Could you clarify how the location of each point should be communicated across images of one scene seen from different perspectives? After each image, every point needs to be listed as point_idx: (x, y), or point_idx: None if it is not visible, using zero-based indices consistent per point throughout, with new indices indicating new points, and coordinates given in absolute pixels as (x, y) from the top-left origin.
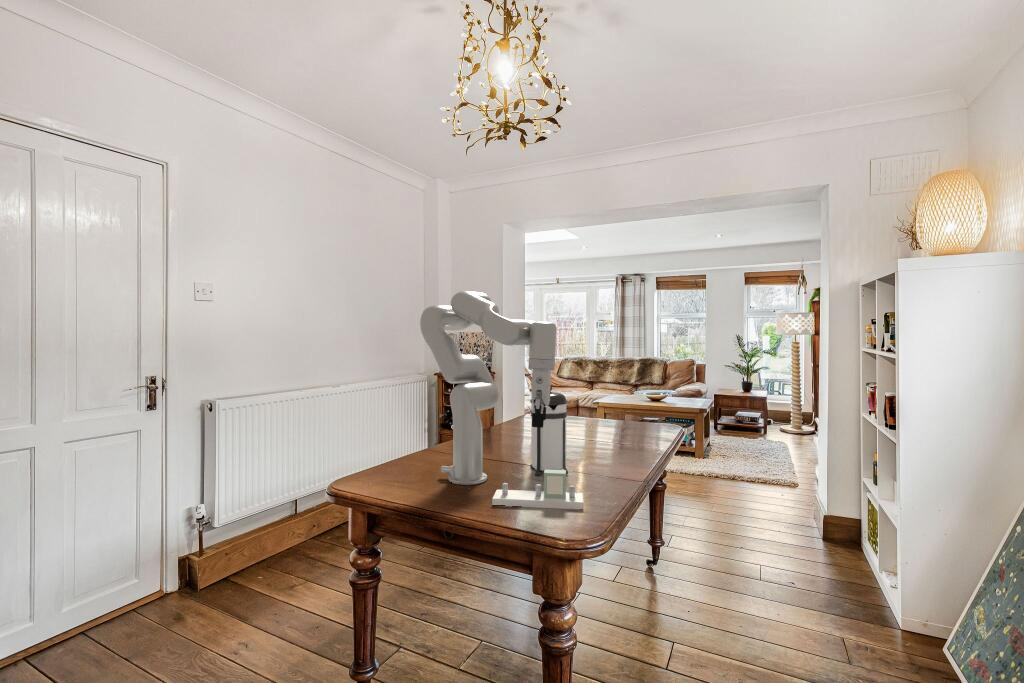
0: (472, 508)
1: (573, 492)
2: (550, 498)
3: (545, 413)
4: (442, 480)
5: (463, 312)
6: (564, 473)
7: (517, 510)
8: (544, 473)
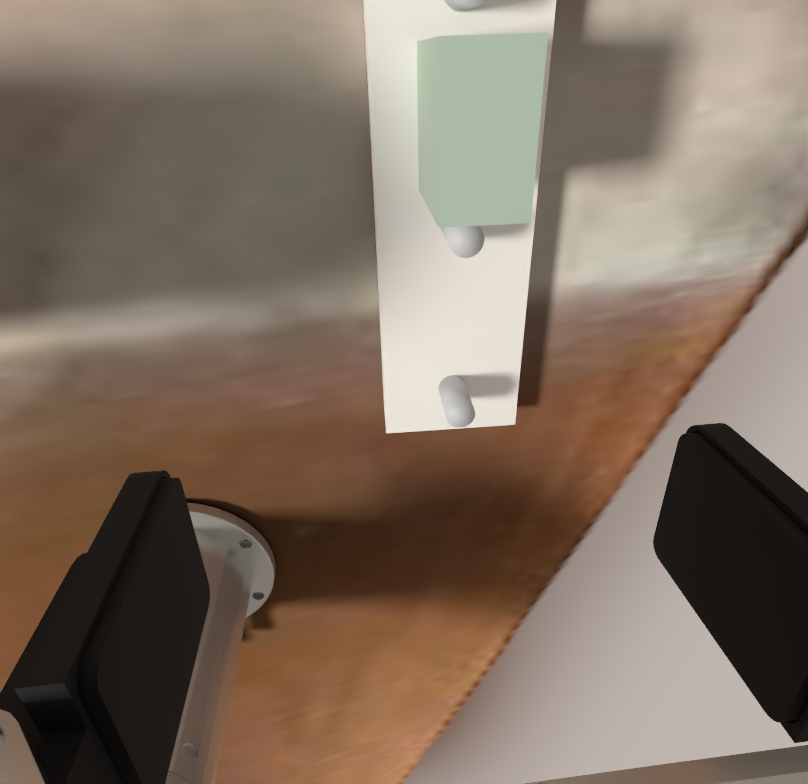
0: (541, 464)
1: None
2: None
3: (122, 557)
4: None
5: None
6: (543, 44)
7: (562, 298)
8: (529, 218)
